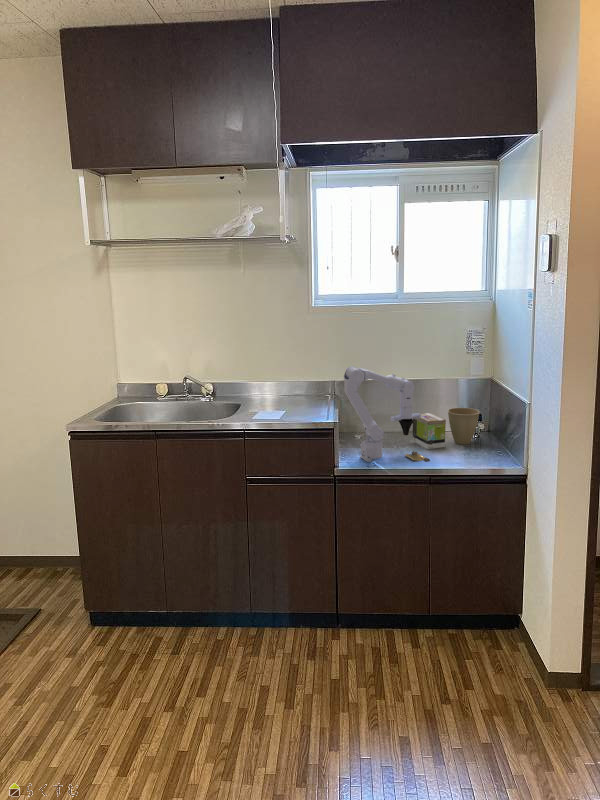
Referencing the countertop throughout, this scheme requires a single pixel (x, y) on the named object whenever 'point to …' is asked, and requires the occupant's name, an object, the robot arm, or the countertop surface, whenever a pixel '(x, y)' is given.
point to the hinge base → (424, 458)
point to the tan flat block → (415, 457)
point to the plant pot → (463, 424)
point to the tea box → (429, 431)
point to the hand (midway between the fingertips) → (405, 434)
